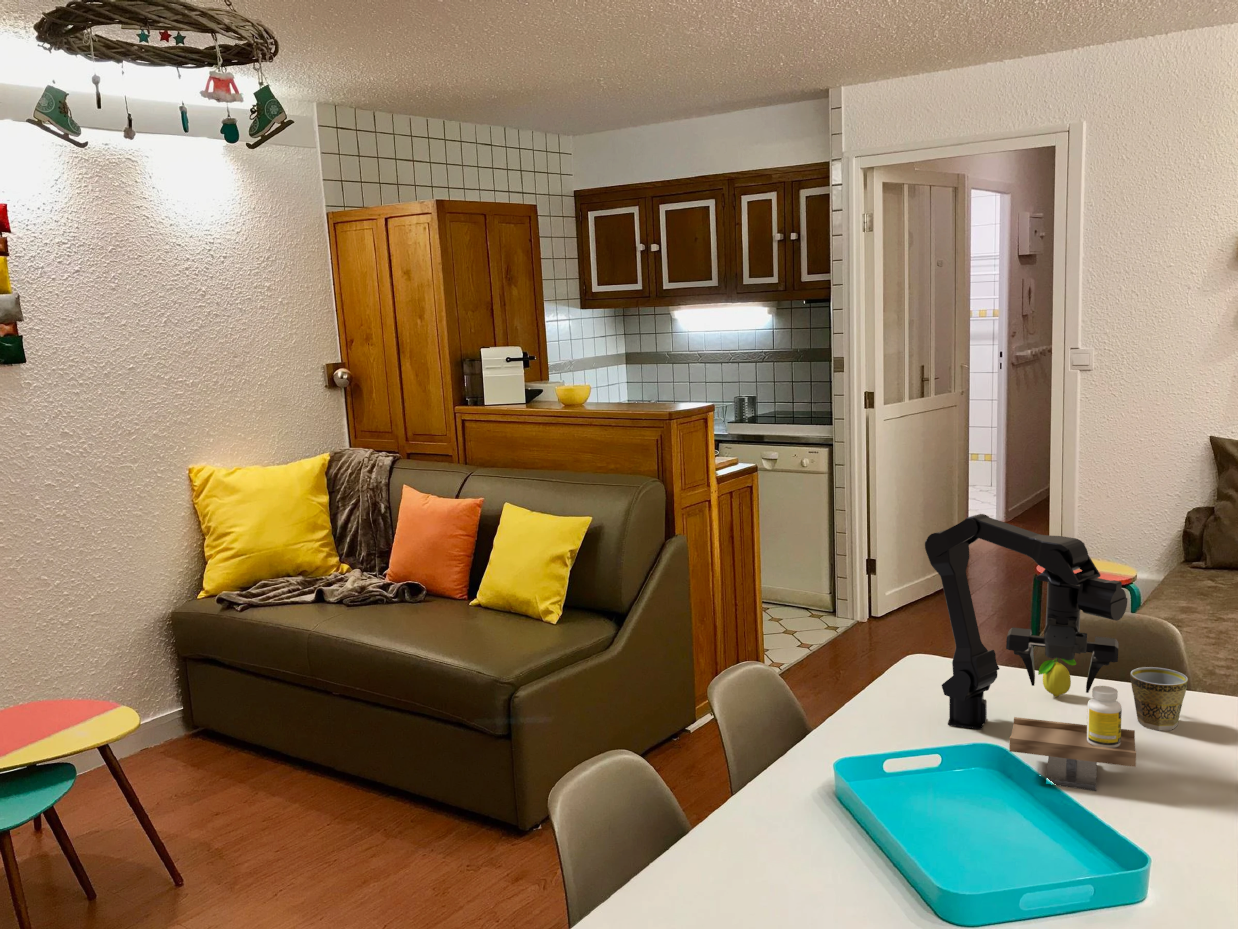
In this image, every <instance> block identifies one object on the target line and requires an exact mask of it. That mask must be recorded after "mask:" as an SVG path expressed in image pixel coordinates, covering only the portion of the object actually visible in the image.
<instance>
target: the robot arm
mask: <svg viewBox="0 0 1238 929" xmlns="http://www.w3.org/2000/svg"><path fill="white" fill-rule="evenodd" d="M979 539H980V540H983V541H986V542H989V543H991V544H993V545H996V546H999V547H1002V548H1005V549H1007V550H1011V551H1014V552H1016V553H1019V554H1020V555H1021V554H1022V555H1025V556H1027V557H1029V558H1030V559H1031V560H1033V561H1034V562H1035V563H1036V565H1038V566H1039V567H1041V568H1043V569H1044V570H1043V571H1042V572H1041V573H1040V574H1038V575H1036V576H1035V579H1036V580H1037V581H1039V582H1045V583H1046V584H1047V587H1046V588H1047V589H1046V611H1045V614H1046V615H1045V627H1044V630H1043V631H1044V633H1043V636H1041V635H1032V634H1033V633H1032V629H1030V628H1023V627H1022V628H1021V627H1011V628H1010V629H1009V630H1008V632H1007V634H1006V645H1005V649H1006V650H1007V651H1013V654H1014V655H1016V656H1019V658H1020V659H1021V660H1022V662H1023V664H1024V666H1025V668H1026V671H1027V672H1026V673H1027V675H1028V678H1029V680H1030V684H1031V686H1035V683H1036V671H1035V670H1036V669H1035V660H1034V659H1035V657H1034V656H1035V655H1034V654H1035V653H1034V647H1041V648H1044V651H1045V652H1044V655H1045V656H1046V657H1047V658H1048V659H1056V658H1058V659H1061V660H1062V659H1065V660H1073V659H1074V660H1075V657H1076V656H1075V655H1076V654H1078V655H1080V654H1086V653H1090V654H1091V653H1092V654H1091V658H1090V663H1089V668H1088V674H1087V678H1086V685H1085V693H1086V694H1088V693H1090V690H1091V687H1092V685H1093V683H1094V681H1095V678H1096V677H1097V675H1098V673H1099V671H1100V670H1101V668H1103V666H1109V665H1111V664H1110V663H1118V662H1119V645H1120V643H1119V641H1118V640H1117V638H1114V637H1113V638H1112V637H1106V636H1105V637H1103V636H1094V641H1088V633H1087V632H1080V630H1081V629H1080V626H1081V611H1082V613H1084V614H1087V615H1091V616H1095V617H1099V618H1102V619H1103V618H1104V619H1107V620H1110V621H1111V620H1112V621H1115V622H1116V621H1117V622H1118V621H1119V620H1121V619H1122V618H1123V617H1124V615H1125V613H1126V611H1127V606H1128V597H1127V594H1126V591H1125V589H1123V588H1122V585H1123V583H1122V581H1119V580H1111V579H1110V580H1109V579H1104V578H1100V577H1101V575H1102V574H1101V573H1100V572H1099V570H1098V568H1097V566H1096V565H1095V563H1094V562H1093V560H1092V559H1091V557H1090V555H1089V553H1088V549H1087V547H1086V544H1085V543H1084V542H1083V541H1082V540H1080V539H1078V538H1074V537H1070V536H1069V537H1068V536H1063V535H1062V536H1061V535H1049V534H1048V535H1045V534H1039V533H1036V532H1035V531H1034V532H1033V531H1031V530H1027V529H1024V528H1023V527H1022V528H1021V527H1019V526H1015V525H1013V524H1010V523H1008V522H1004V521H1001V520H999V519H995V518H992V517H990V516H988V515H986V514H984V513H978V514H975V515H971V516H968V517H966V518H965V519H963V520H962V521H961V522H959V523H957V524H954V525H953V526H951V527H949V528H947V529H945V530H940V531H937V532H933V533H931V534H929V535H928V536H927V538H926V540H925V541H924V549H925V553H926V555H927V558H928V561H929V563H930V566H932V568H933V569H934V571H936V572H937V574H938V575H939V577H940V579H941V584H942V589H943V593H944V598H945V602H946V606H947V611H948V616H949V617H948V618H949V622H950V625H951V630H952V634H953V635H952V636H953V638H954V642H955V650H954V653H953V657H952V662H951V664H952V676H950V678H949V679H947V680H946V681H944V682H943V683H942V684H941V688H942V691H943V695H944V696H946V697H948V698H949V701H948V705H949V707H948V710H949V714H948V715H949V716H948V717H949V718H948V721H947V726H950V725H952V726H951V727H960V728H967V729H975V730H983V726H984V724H986V722H987V720H988V718H987V717H988V716H987V714H988V713H987V708H988V706H987V699H985V698H984V697H985V695H984V692H987V691H989V690H990V687H991V686H992V684H994V683H995V681H996V680H997V679H998V671H999V670H1000V667H999V665H998V663H997V657H996V656H997V655H996V654H997V653H996V652H995V650H994V649H990V650H989V649H987V647H986V646H985V645H984V644H983V642H982V640H981V639H982V638H981V635H980V631H979V626H978V622H977V621H978V620H977V618H976V613H975V609H974V605H973V604H974V603H973V599H972V594H971V588H970V586H969V581H968V575H967V568H968V565H969V564H968V563H969V561H970V545H971V544H974V543H975V542H976V541H978V540H979ZM1077 570H1081V571H1078V572H1076V573H1075V572H1074V571H1077Z"/></svg>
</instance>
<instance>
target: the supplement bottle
mask: <svg viewBox="0 0 1238 929" xmlns="http://www.w3.org/2000/svg"><path fill="white" fill-rule="evenodd" d="M1091 694H1092V696H1091V697H1092V698H1091V699H1089V700H1088V702H1087V709H1086V710H1087V711H1086V712H1087V715H1086V725H1087V741H1088V742H1089V743H1090V744H1091V745H1093V746H1097V747H1105V748H1116V747H1118V746H1119V745H1120V743H1121V729H1122V710H1123V709H1122V708H1123V707H1122V705H1121V703H1120V701H1117V700H1118V697H1119V696H1118V694H1119V693H1118V690H1117V689H1116V688H1115V687H1112V686H1107V685H1096V686H1093V687H1092V691H1091Z"/></svg>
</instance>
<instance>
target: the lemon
mask: <svg viewBox="0 0 1238 929" xmlns="http://www.w3.org/2000/svg"><path fill="white" fill-rule="evenodd" d="M1058 660H1059V658H1054V659H1048V660H1045V661H1043V663H1042V664H1041V665H1040V666H1039V668H1038V671H1037V674H1038V675H1042V685H1043V687H1044V689H1045V690H1046V691H1047V693H1049V694H1051V695H1053V697H1055V698H1057V697H1059V696H1061V695H1065V694H1067V693H1068V692H1069V691H1070V689H1071V683H1072V682H1071V681H1072V680H1071V675H1070V672H1069V670H1068V668H1067V667H1066V666H1065V665H1064V664H1062V663H1061V662H1059V661H1058ZM1061 660H1062V662H1064V663H1066V664H1067V665H1069V666H1076V665H1077V662H1076V660H1075V658H1074V659H1073V660H1065V659H1061Z"/></svg>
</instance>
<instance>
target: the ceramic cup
mask: <svg viewBox="0 0 1238 929" xmlns="http://www.w3.org/2000/svg"><path fill="white" fill-rule="evenodd" d="M1129 676H1130V677H1129V678H1130V684H1131V691H1132V694H1133V699H1134V706H1135V712H1136V718H1137V722H1138V723H1139V724H1140V725H1141V726H1143V728H1145V727H1147V728H1146V729H1149V728H1150V729H1149V730H1153V729H1154V730H1153V731H1158V730H1159V732H1161V731H1160V730H1170V731H1173V730H1174V729H1175V728H1176V727H1177V726H1178V723H1179V721H1180V720H1179V719H1180V714H1181V710H1182V707H1183V701H1184V699H1185V695H1186V692H1187V687H1188V681H1189V678H1188V677H1187V675H1185V674H1184V673H1182V672H1179V671H1177V670H1174V669H1169V668H1164V667H1157V666H1156V667H1153V666H1149V667H1148V666H1147V667H1146V666H1139V667H1138V668H1135V669H1132V670H1131V671H1130V673H1129ZM1172 729H1173V730H1172Z"/></svg>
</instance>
